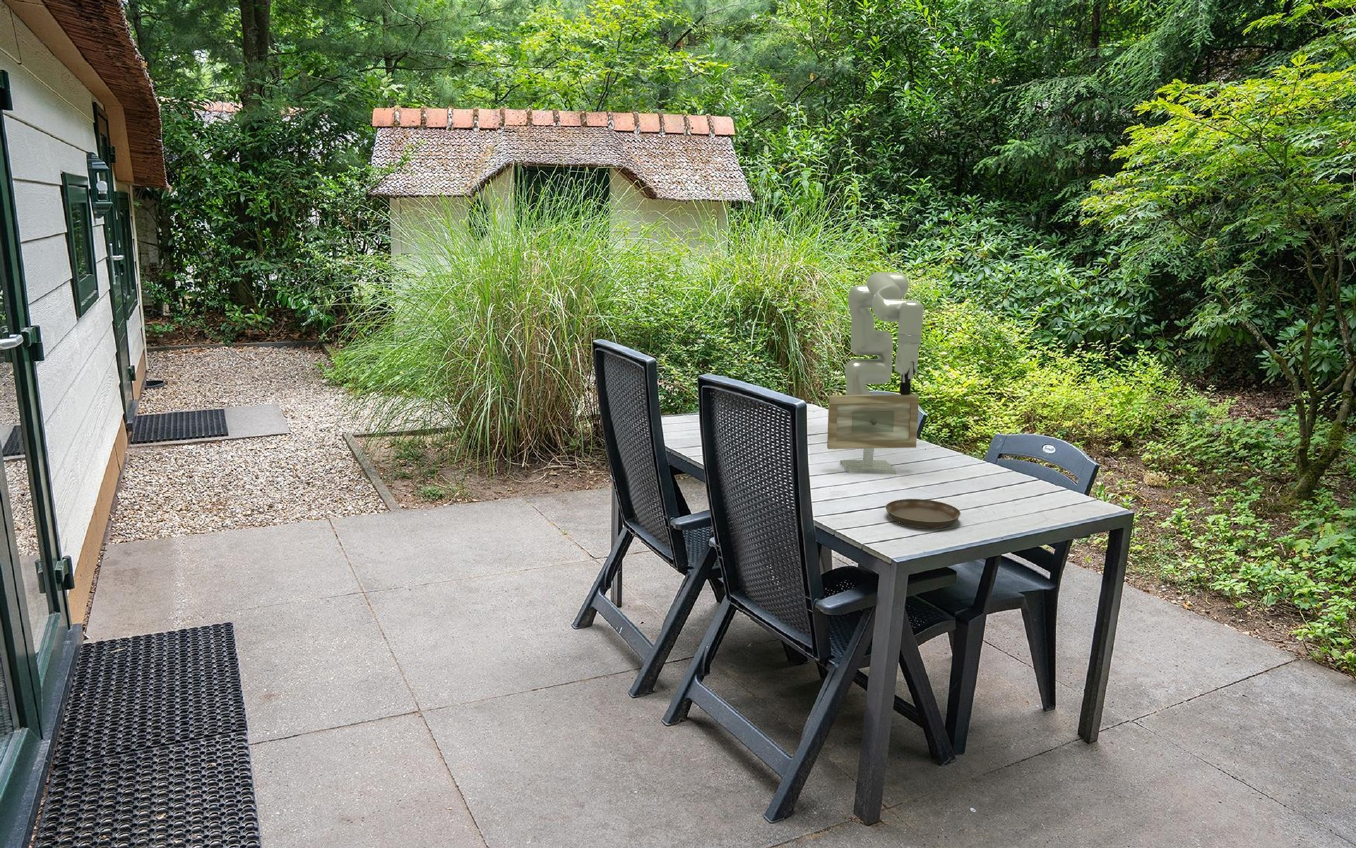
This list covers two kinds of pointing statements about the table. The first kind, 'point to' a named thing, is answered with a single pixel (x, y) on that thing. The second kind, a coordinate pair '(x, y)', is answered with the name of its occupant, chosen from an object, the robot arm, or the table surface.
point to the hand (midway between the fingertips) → (904, 394)
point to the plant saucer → (922, 513)
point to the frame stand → (868, 464)
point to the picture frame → (872, 421)
